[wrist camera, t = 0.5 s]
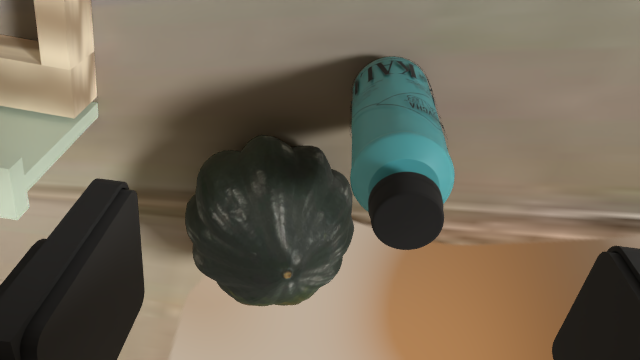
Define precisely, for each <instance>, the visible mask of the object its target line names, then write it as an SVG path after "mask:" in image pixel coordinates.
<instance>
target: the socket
mask: <svg viewBox="0 0 640 360" xmlns="http://www.w3.org/2000/svg"><path fill="white" fill-rule="evenodd" d="M34 7H35V16H36V24H37V32H38V41H34V40H29V39H23V38H17V37H12V36H6V35H1V34H0V106H5V107H11V108H16V109H22V110H28V111H34V112H39V113H45V114H51V115H57V116H63V117H68V118H74V119H75V118H76V117H77V116H78V115H79V114H80V113H81V112H82V111H83V110H84V109H85V108H86V107H87V106H88V105H89V104H90V103H91V102H92V101H93V100H94V99H95V98H96V97H97V87H96V71H95V55H94V40H93V24H92V8H91V0H34Z"/></svg>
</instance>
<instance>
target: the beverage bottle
mask: <svg viewBox="0 0 640 360" xmlns="http://www.w3.org/2000/svg"><path fill="white" fill-rule="evenodd" d="M410 61H411V60H410ZM410 61H409V59H408V60H406V58H405V59H403V58H402V57H401V58H399V57H395V56H393V57H383V58H379V59H377V60H376V61H375V60H374V62H373V61H372V63H370V64H369V65H366V67H365V68H364V69H363V70H362V71H361V72H360V73H359V75H358V74H357V75H358V77H357V78H356V77H355V78H356V81H353V82H355V83H354V87H353V88H352V89H353V95H352V97H353V100H352V101H350V102H351V105H352V107H350V108H351V109H352V110H350V111H352V121H351V122H352V126H351V128H352V132H351V133H352V169H351V176H350V180H351V187H352V191H353V194H354V196H355V198H356V199H357V201H358V202H359V203H360V205H361V206H362V207H363V208H364V209H365V210H367V211H368V212H369V216H370V219H371V224H372V228H373V231H374V233H375V235H376V236H377V237H378V239H380V241H382V242H383V243H384V244H386V245H388V246H390V247H393V248H396V249H402V250H411V249H417V248H420V247H423V246H425V245H427V244H429V243H430V242H432V241H433V240H434V239H435V238H436V237H437V236H438V235H439V233H440V232H441V230H442V227H443V223H444V213H443V204H444V202H445V201H446V200H447V198H448V197H449V195H450V193H451V190H452V188H453V183H454V167H453V163H452V161H451V158H450V156H449V154H448V148H447V147H446V142H445V137H444V135H443V133H444V132H442V128H441V126H442V127H443V125H440V124H441V123H440V122H439V119H438V116H439V115H437V112H436V108H435V103H436V102H435V103H434V100H435V99H434V98H433V95H434V94H432V95H431V92H430V91H432V88H431V90H430V89H429V86H428V83H429V80H428V79H426V78H427V77H425V75H426V73H425V75H424V73H423V72H422V71H421V70H420V68H421V67H420V66H419V65H418V66H419V67H420V68H419V67H418V66H417V65H415V64H414V63H415V62H414V63H412V62H413V61H412V62H410ZM422 70H423V69H422ZM354 80H355V79H354ZM427 80H428V82H427ZM352 85H353V84H352ZM429 85H430V83H429ZM430 87H431V85H430ZM436 106H437V105H436ZM439 117H440V116H439ZM440 118H441V117H440ZM351 122H350V123H351ZM442 124H443V123H442ZM443 129H444V128H443ZM350 135H351V134H350ZM446 137H447V136H446ZM447 140H448V139H447Z"/></svg>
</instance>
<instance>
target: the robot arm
mask: <svg viewBox="0 0 640 360" xmlns="http://www.w3.org/2000/svg"><path fill="white" fill-rule="evenodd" d="M143 298H144V277H143V264H142V251H141V237H140V224H139V211H138V198H137V193H136V191H134V190H129V187H128V185H127V183H126V182H121V181H113V180H106V179H95V180H93V181H92V183H91V184H90V185H89V186H88V188H87V189H86V190H85V191H84V193H83V194H82V195H81V196H80V198H79V199H78V200H77V202H76V203H75V204H74V205H73V207H72V208H71V209H70V210H69V212H68V213H67V214H66V215H65V217H64V218H63V219H62V221H61V222H60V223H59V224H58V226H57V227H56V228H55V229H54V231H53V232H52V233H51V234H50V236H49V237H48V238H47V239H41V240H39V241H37V242H36V243H35V244H34V245H33V246H32V247H31V248H30V249H29V251H28V252H27V253H26V254H25V256H24V257H23V258H22V259H21V261H20V262H19V263H18V264H17V266H16V267H15V268H14V269H13V270H12V272H11V273H10V274H9V275H8V277H7V278H6V279H5V280H4V282H3V283H2V284H1V285H0V360H117V358H118V356H119V354H120V352H121V349H122V347H123V345H124V343H125V341H126V339H127V337H128V334H129V332H130V330H131V328H132V326H133V324H134V321H135V319H136V317H137V315H138V313H139V311H140V308H141V306H142V303H143ZM552 354H553V359H554V360H640V249H637V248H629V247H621V246H613V247H611V248H610V249H608V251H607V252H602V253H601V254H600V255H599V256H598V258H597V260H596V261H595V263H594V265H593V267H592V269H591V271H590V273H589V275H588V277H587V279H586V281H585V283H584V285H583V286H582V288H581V290H580V292H579V294H578V296H577V298H576V300H575V302H574V304H573V305H572V307H571V309H570V312H569V313H568V315H567V317H566V319H565V321H564V323H563V325H562V327H561V328H560V330H559V332H558V334H557V336H556V338H555V340H554V342H553V347H552Z"/></svg>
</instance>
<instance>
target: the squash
mask: <svg viewBox="0 0 640 360" xmlns="http://www.w3.org/2000/svg"><path fill="white" fill-rule="evenodd" d="M351 212H352V191H351V188H350V184H349V182H348V180H347V179H346V177H345V176H344V175H342V174H341V173H339V172H337V171H336V170H333V169H331V168H330V165H329V163H328V161H327V159H326V157H325V155H324V153H323V152H322V151H321V150H320V149H319V148H317V147H313V146H298V147H294V148H291V147H290V146H289V145H287V144H286V143H284V142H283V141H281V140H279V139H277V138H275V137H272V136H265V135H262V136H257V137H255V138H254V139H252V140H251V141H249V142H248V143H247V145H246V146H245V147H244V148H243V150H242V151H241V152H239V151H234V150H228V151H222V152H219V153H217V154H215V155H213V156H211V157H210V158H209V159H208V160H207V161H206V162H205V163H204V164H203V166H202V168H201V169H200V172H199V174H198V177H197V187H196V194H195V195H194V196H193V197H192V198H191V199H190V200H189V202H188V204H187V208H186V216H185V224H186V229H187V233H188V235H189V237H190V239H191V241H192V242H193V258H194V261H195V264H196V266H197V268H198V269H199V270H200V271H201V272H202V273H203V274H205V275H206V276H208V277H210V278H211V279H213V280H215V281H217V283H218V285H219V286H220V288H221V289H222V290H223V291H225V292H226V293H227V294H228V295H230V296H231V297H233V298H234V299H235V300H236V301H238V302H240V303H242V304H245V305H255V306H268V305H272V304H275V305H296V304H299V303H300V302H302V301H304V300H306V299H308V298H310V297H311V296H312V295H313V294H314V293H315V292H316V291H317V290H318V289H319V288H320V287H321V286H323V285H325V284H327V283H329V282H330V281H331V280H332V279H333V278H334V277H335V275H336V274H337V273H338V271H339V269H340V267H341V264H342V256H343V255H344V254H345V252H346V251H347V248H348V247H349V245H350V242H351V239H352V236H353V232H354V225H353V221H352V217H351Z"/></svg>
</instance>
